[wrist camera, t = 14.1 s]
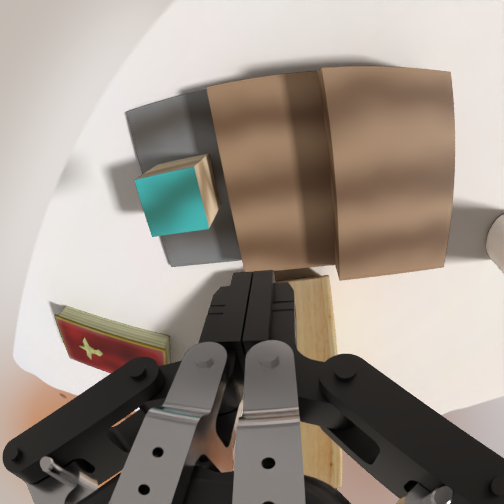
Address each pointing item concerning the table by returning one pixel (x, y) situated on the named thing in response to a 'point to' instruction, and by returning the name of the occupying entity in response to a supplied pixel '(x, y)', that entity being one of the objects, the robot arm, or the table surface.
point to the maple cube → (179, 196)
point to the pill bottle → (496, 243)
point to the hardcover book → (108, 341)
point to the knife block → (321, 349)
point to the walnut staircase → (315, 168)
